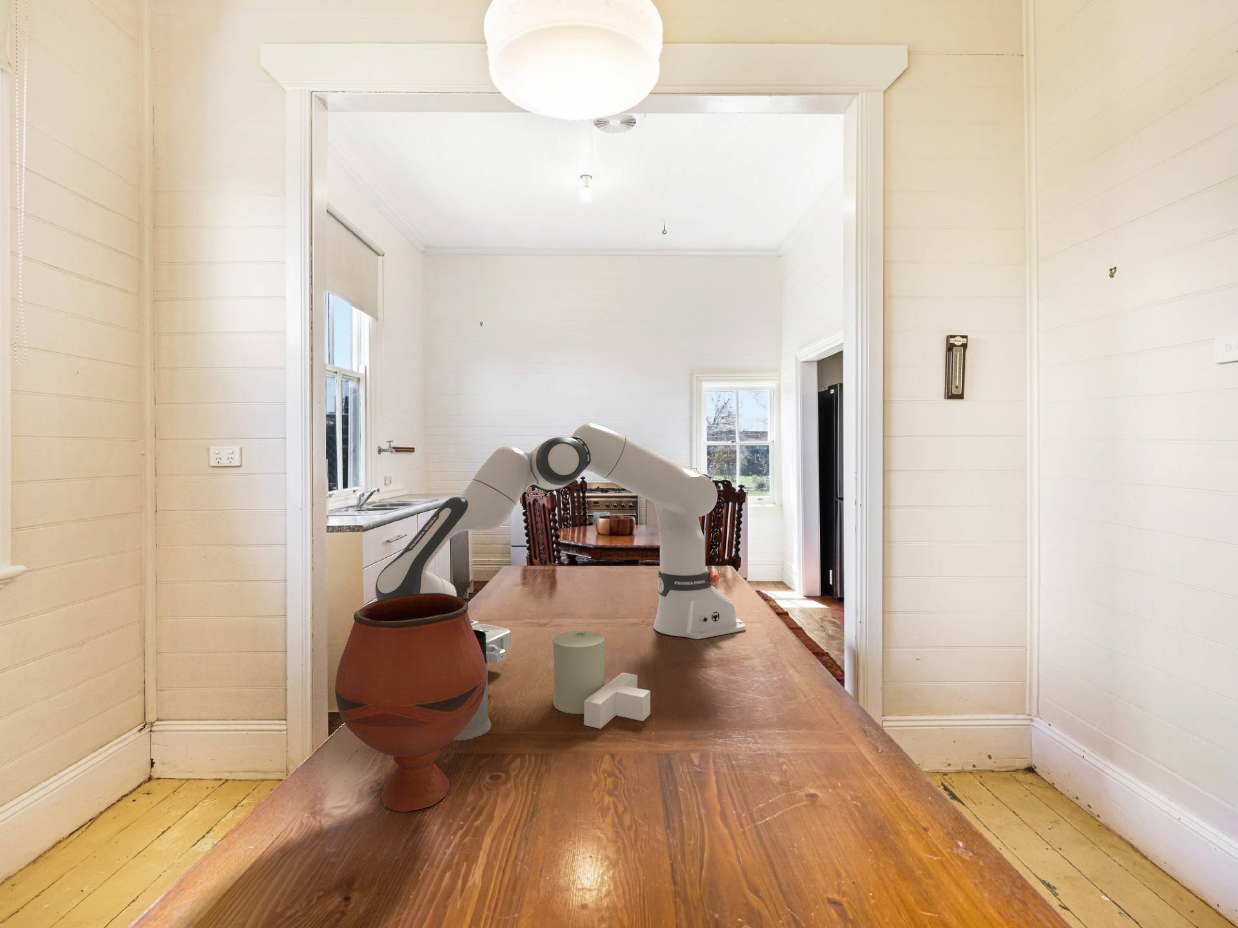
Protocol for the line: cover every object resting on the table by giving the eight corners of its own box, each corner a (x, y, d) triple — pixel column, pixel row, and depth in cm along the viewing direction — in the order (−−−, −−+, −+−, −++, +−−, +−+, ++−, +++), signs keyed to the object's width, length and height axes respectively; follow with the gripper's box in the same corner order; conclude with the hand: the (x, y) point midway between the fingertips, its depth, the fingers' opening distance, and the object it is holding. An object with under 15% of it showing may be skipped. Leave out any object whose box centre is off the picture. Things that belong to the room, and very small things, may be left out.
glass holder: (500, 719, 105) (499, 630, 105) (456, 760, 91) (454, 658, 91) (453, 713, 107) (452, 626, 107) (403, 753, 94) (402, 653, 93)
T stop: (584, 724, 103) (584, 700, 103) (622, 693, 115) (622, 672, 115) (628, 734, 99) (628, 709, 99) (662, 701, 112) (662, 679, 112)
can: (605, 692, 116) (605, 627, 116) (605, 713, 107) (604, 643, 107) (555, 692, 116) (555, 628, 116) (550, 714, 107) (550, 644, 106)
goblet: (435, 743, 97) (432, 581, 96) (519, 786, 85) (517, 602, 84) (308, 798, 82) (304, 608, 81) (388, 859, 70) (384, 637, 69)
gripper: (405, 645, 115) (464, 657, 109) (478, 617, 134) (532, 625, 128) (406, 679, 116) (465, 693, 110) (478, 646, 134) (532, 656, 128)
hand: (501, 656), depth 119 cm, fingers closed
